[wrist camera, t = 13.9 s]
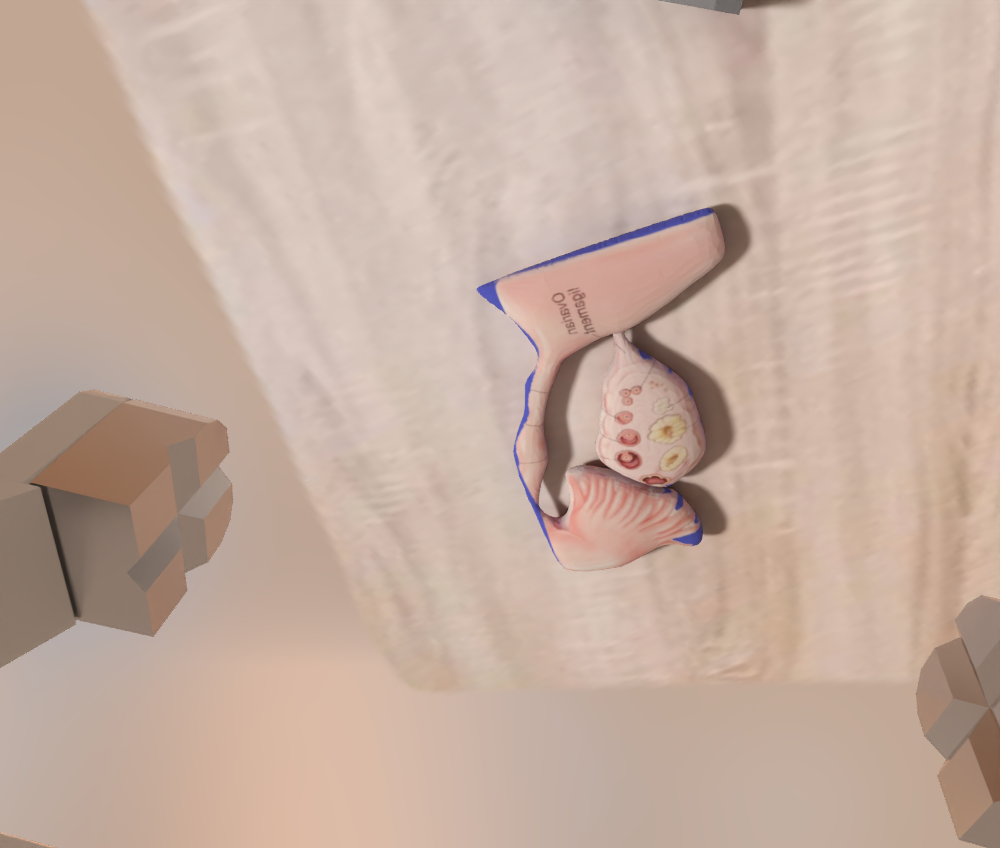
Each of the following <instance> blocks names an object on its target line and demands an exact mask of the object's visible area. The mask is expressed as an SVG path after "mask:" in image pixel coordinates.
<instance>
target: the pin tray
mask: <svg viewBox="0 0 1000 848" xmlns="http://www.w3.org/2000/svg"><path fill="white" fill-rule="evenodd" d="M660 1H666V2H671V3H677V4H682V5H688V6H693V7H699V8H704V9H710V10H715V11H721V12H726V13H732V14H738V15H739V13H740V10H741V6H742V3H743V0H660Z"/></svg>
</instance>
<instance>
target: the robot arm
mask: <svg viewBox="0 0 1000 848" xmlns="http://www.w3.org/2000/svg"><path fill="white" fill-rule="evenodd" d="M228 453H229V444H228V436H227V428H226V427H225V426H224V425H223V424H222V423H221V422H220V421H218V420H215V419H211V418H207V417H203V416H199V415H196V414H192V413H187V412H184V411H180V410H176V409H172V408H168V407H164V406H160V405H156V404H152V403H148V402H144V401H140V400H132V399H129V398H126V397H122V396H118V395H114V394H110V393H105V392H101V391H97V390H89V391H83V392H79V393H78V394H76V395H75V396H74V397H72V398H71V399H70V400H69V401H67V402H66V403H65V404H63V405H62V406H61V407H59V408H58V409H57V410H56V411H54V412H53V413H52V414H51V415H49V416H48V417H47V418H45V419H44V420H43V421H41V422H40V423H39V424H37V425H36V426H35V427H33V428H32V429H31V430H30V431H28V432H27V433H26V434H24V435H23V436H22V437H21V438H19V439H18V440H17V441H15V442H14V443H13V444H12V445H10V446H9V447H8V448H7V449H5V450H4V451H2V452H1V453H0V668H1V667H2V666H4V665H6V664H8V663H10V662H11V661H13V660H15V659H16V658H18V657H20V656H22V655H23V654H25V653H27V652H29V651H30V650H32V649H34V648H36V647H37V646H39V645H40V644H42V643H44V642H46V641H48V640H49V639H51V638H53V637H55V636H56V635H58V634H60V633H62V632H63V631H65V630H67V629H69V628H70V627H72V626H74V625H75V624H76V620H80V621H84V622H89V623H94V624H98V625H103V626H107V627H111V628H116V629H121V630H125V631H130V632H134V633H139V634H143V635H148V636H152V637H154V635H155V634H156V633H157V631H158V630H159V629H160V627H161V626H162V624H163V623H164V622H165V620H166V619H167V618H168V616H169V615H170V614H171V612H172V611H173V610H174V608H175V607H176V605H177V604H178V603H179V601H180V600H181V599H182V597H183V596H184V594H185V593H186V592H187V585H186V577H185V573H186V572H187V571H190V570H192V569H194V568H196V567H198V566H200V565H203V564H205V563H207V562H208V561H209V560H210V559H211V557H212V555H213V554H214V553H215V551H216V550H217V548H218V547H219V546H220V544H221V542H222V540H223V537H224V535H225V532H226V529H227V527H228V524H229V522H230V517H231V511H232V504H233V493H232V483H231V482H230V480H229V479H228V477H227V476H226V475H225V473H224V472H223V471H222V470H221V468H220V467H219V466H218V465H219V464H220V463H221V462H222V461H223V459H224V458H225V457H226V456H227V454H228ZM955 622H956V625H957V629H958V633H959V636H960V638H957V639H955V640H953V641H950V642H948V643H946V644H943V645H941V646H939V647H936V648H935V649H934V650H933V652H932V653H931V655H930V656H929V658H928V659H927V661H926V663H925V664H924V666H923V667H922V669H921V673H920V677H919V682H918V687H917V692H916V697H917V709H918V716H919V719H920V723H921V726H922V730H923V733H924V736H925V737H926V738H927V739H928V740H929V741H930V742H931V744H932V745H933V746H934V747H935V748H936V749H937V750H938V751H939V752H940V753H941V754H942V755H943V757H944V758H945V759H946V761H945V762H944V764H943V766H942V768H941V770H940V772H939V774H938V779H939V782H940V785H941V788H942V791H943V794H944V797H945V800H946V803H947V806H948V809H949V812H950V815H951V818H952V821H953V824H954V827H955V830H956V833H957V836H958V839H959V840H962V841H965V842H969V843H973V844H976V845H980V846H983V847H987V848H1000V599H996V598H992V597H987V596H983V595H981V596H979V597H978V598H976V599H974V600H973V601H971V602H969V603H967V605H966V606H965V607H964V609H963V610H962V611H961V613H960V614H959V615H958V617H957V618H956V619H955ZM0 848H56V847H53V846H49V845H45V844H42V843H38V842H35V841H31V840H27V839H24V838H20V837H16V836H13V835H9V834H5V833H2V832H0Z"/></svg>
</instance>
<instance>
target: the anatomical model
mask: <svg viewBox="0 0 1000 848" xmlns="http://www.w3.org/2000/svg"><path fill="white" fill-rule="evenodd" d="M724 253H725V243H724V237H723V233H722V229H721V226H720V223H719V220H718V217H717V214H716V213H715V212H714V211H713V210H712V209H710V208H705V209H701V210H698V211H695V212H692V213H687V214H684V215H683V216H678V217H675V218H672V219H669V220H667V221H662V222H659V223H656V224H652V225H651V226H648V227H644V228H641V229H637V230H635V231H633V232H629V233H626V234H623V235H620V236H619V237H614V238H611V239H609V240H605V241H603V242H599V243H598V244H593V245H590V246H587V247H585V248H582V249H579V250H576V251H573V252H571V253H568V254H565V255H562V256H559V257H556V258H554V259H551V260H548V261H544V262H542V263H540V264H536V265H533V266H531V267H528V268H525V269H523V270H521V271H517V272H514V273H512V274H509V275H507V276H505V277H502V278H500V279H497V280H495V281H492V282H490V283H487V284H484V285H482V286H480V287H478V288H477V291H478V292H479V293H480V295H482V296H483V297H484V298H486V299H487V300H488V301H489V302H490V303H492V304H494V305H495V306H496V307H497V308H498V309H500V310H502V311H503V312H504V313H505V314H507V315H508V316H509V317H510V318H511V319H512V320H513V321H514V322H515V323H516V324H517V325H518V326H519V328H520V329H521V330H522V331H523V333H524V334H525V335H526V336H527V337H528V339H529V340H530V342H531V343H532V344H533V345H534V347H535V349H536V351H537V353H538V364H537V366H536V367H535V369H534V370H533V372H532V373H531V375H530V376H529V378H528V379H527V382H526V384H525V411H524V416H523V418H522V421H521V424H520V427H519V430H518V433H517V437H516V440H515V445H514V451H513V452H514V457H515V461H516V465H517V468H518V473H519V477H520V479H521V481H522V483H523V486H524V488H525V491H526V494H527V497H528V499H529V501H530V503H531V505H532V507H533V509H534V511H535V513H536V516H537V518H538V520H539V523H540V525H541V527H542V530H543V532H544V534H545V536H546V538H547V540H548V542H549V544H550V547H551V549H552V551H553V553H554V555H555V557H556V559H557V560H558V561H559V562H560V564H561V565H562V566H563V567H564V568H565V569H567V570H571V571H595V570H603V569H610V568H616V567H620V566H623V565H625V564H628V563H630V562H632V561H634V560H636V559H638V558H639V557H641V556H643V555H645V554H647V553H649V552H651V551H652V550H654V549H656V548H658V547H661V546H664V545H669V544H678V545H683V546H695V545H697V544H699V543H700V542H701V540H702V536H703V530H702V526H701V523H700V520H699V518H698V517H697V516H696V514H695V512H694V510H693V509H692V508H691V506H690V505H689V504H688V503H687V501H686V500H685V499H684V498H683V497H682V496H681V495H680V494H679V493H678V492H676V491H675V490H673V489H670V488H667V486H671V485H672V484H674V483H675V482H677V481H678V480H679V479H680V478H682V477H683V476H684V475H686V474H687V473H689V472H690V471H691V470H692V469H693V468H694V467H695V466H696V465H697V464H698V463H699V461H700V460H701V459H702V457H703V455H704V453H705V448H706V438H705V434H704V430H703V427H702V423H701V420H700V416H699V413H698V410H697V407H696V404H695V401H694V398H693V395H692V393H691V390H690V388H689V386H688V385H687V384H686V383H685V381H684V380H683V379H682V378H681V377H680V376H678V375H677V374H676V373H675V372H674V371H672V370H671V369H670V368H668V367H667V366H666V365H664V364H662V363H660V362H659V361H657V360H656V359H654V358H653V357H652V356H650V355H648V354H646V353H645V352H643V351H641V350H639V349H638V348H637V347H635V346H633V345H632V344H631V343H630V342H629V341H628V339H627V338H626V337H625V335H624V333H625V330H627V329H630V328H631V327H633V326H635V325H637V324H639V323H640V322H642V321H643V320H645V319H646V318H648V317H650V316H651V315H653V314H654V313H655V312H657V311H658V310H659V309H661V308H662V307H663V306H665V305H667V304H668V303H669V302H671V301H672V300H673V299H674V298H676V297H677V296H678V295H679V294H681V293H682V292H683V291H684V290H686V289H687V288H688V287H689V286H690V285H692V284H693V283H694V282H695V281H697V280H699V279H700V278H701V277H703V276H704V275H705V274H706V273H708V272H709V271H710V270H712V269H713V268H714V267H715V266H716V265H717V264H718V263H719V262H720V261H721V260H722V258H723V256H724ZM610 334H613V337H614V347H615V352H614V358H613V361H612V363H611V365H610V367H609V369H608V371H607V373H606V375H605V377H604V379H603V383H602V391H603V400H602V406H601V412H600V430H599V433H598V436H597V440H596V443H595V444H596V452H597V455H598V457H599V458H600V460H601V461H602V462H603V463H604V464H605V465H607V466H608V467H610V468H611V469H607V468H602V467H597V466H590V465H580V466H576V467H573V468H570V469H569V470H568V471H567V472H566V474H565V475H566V480H567V486H568V489H569V494H570V504H569V508H568V511H567V513H566V514H565V515H564V516H562V517H556V518H555V517H552V516H549V515H547V514H546V513H544V512H543V511H542V509H541V508H540V507H539V505H538V504H539V493H540V488H541V483H542V479H543V476H544V472H545V469H546V467H547V464H548V453H547V447H546V440H545V433H544V424H543V423H544V415H545V409H546V405H547V400H548V396H549V393H550V390H551V388H552V385H553V382H554V380H555V377H556V374H557V372H558V369H559V367H560V365H561V362H562V361H563V360H564V359H565V358H567V357H568V356H570V355H571V354H573V353H575V352H577V351H578V350H580V349H581V348H583V347H585V346H587V345H589V344H590V343H592V342H594V341H596V340H598V339H600V338H603V337H605V336H608V335H610ZM612 469H613V470H612Z"/></svg>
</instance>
